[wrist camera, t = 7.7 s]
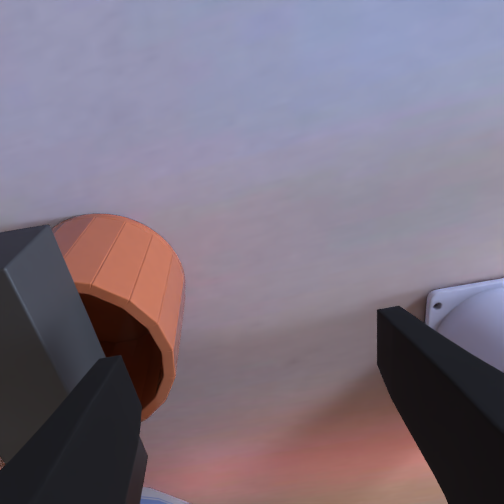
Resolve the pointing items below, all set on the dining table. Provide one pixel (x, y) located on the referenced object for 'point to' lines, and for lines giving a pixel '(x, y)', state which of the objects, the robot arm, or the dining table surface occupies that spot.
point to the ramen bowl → (158, 497)
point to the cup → (129, 296)
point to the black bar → (43, 341)
